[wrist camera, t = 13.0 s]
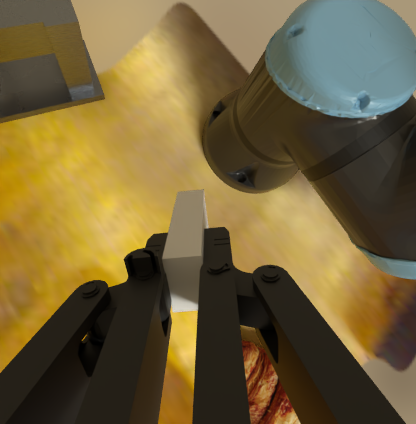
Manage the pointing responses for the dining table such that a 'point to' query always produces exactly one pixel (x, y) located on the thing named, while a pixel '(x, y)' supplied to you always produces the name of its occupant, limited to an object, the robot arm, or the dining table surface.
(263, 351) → the croissant
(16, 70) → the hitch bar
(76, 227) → the dining table surface
